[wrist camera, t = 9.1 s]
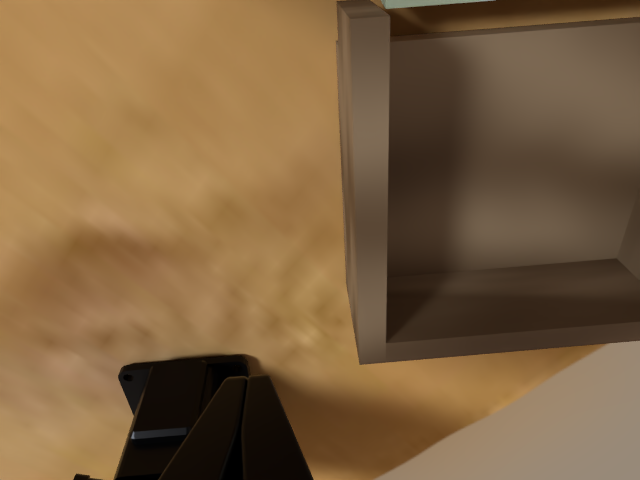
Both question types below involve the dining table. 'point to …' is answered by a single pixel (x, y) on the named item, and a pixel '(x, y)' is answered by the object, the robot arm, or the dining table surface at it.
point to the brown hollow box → (489, 185)
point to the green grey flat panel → (422, 2)
